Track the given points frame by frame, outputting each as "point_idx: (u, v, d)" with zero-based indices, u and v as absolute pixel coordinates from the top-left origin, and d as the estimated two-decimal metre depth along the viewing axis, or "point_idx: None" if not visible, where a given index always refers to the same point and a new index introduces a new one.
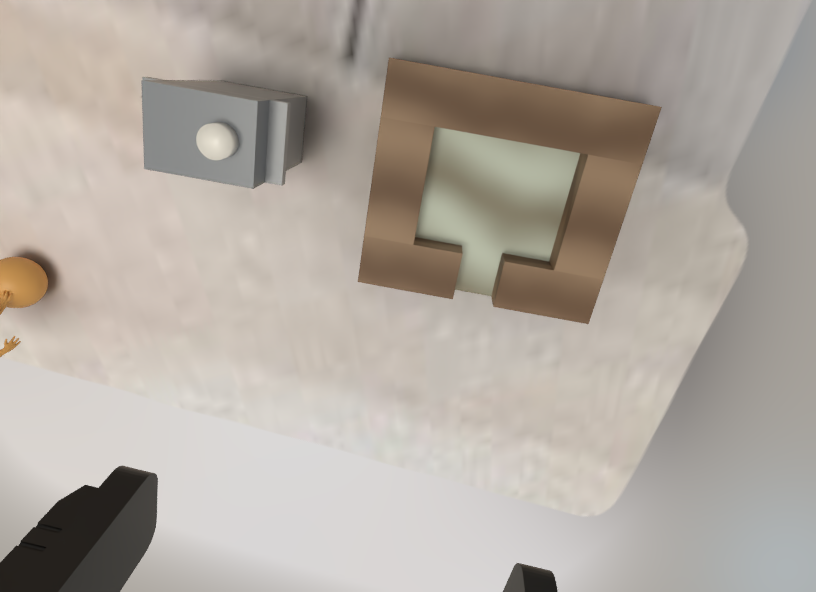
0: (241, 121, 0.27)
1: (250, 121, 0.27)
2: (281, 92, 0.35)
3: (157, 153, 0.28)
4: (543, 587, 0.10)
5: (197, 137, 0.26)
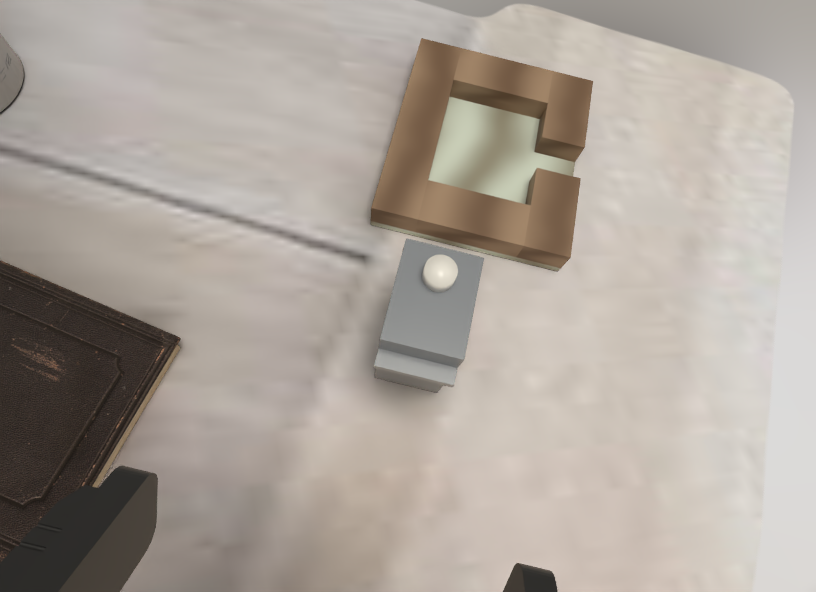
0: (422, 255, 0.29)
1: (422, 248, 0.29)
2: None
3: (449, 342, 0.27)
4: (543, 587, 0.10)
5: (436, 283, 0.27)
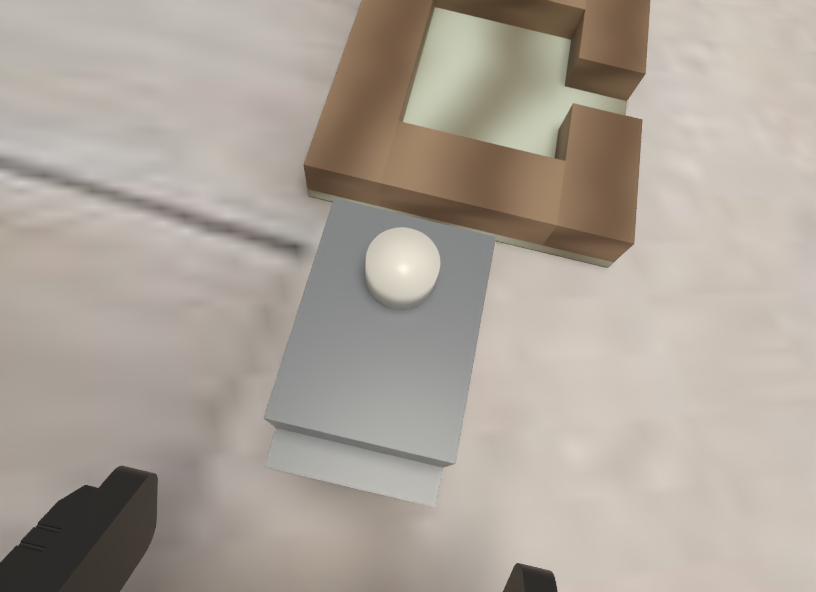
0: (367, 232, 0.14)
1: (368, 217, 0.14)
2: None
3: (421, 421, 0.12)
4: (543, 587, 0.10)
5: (391, 291, 0.12)
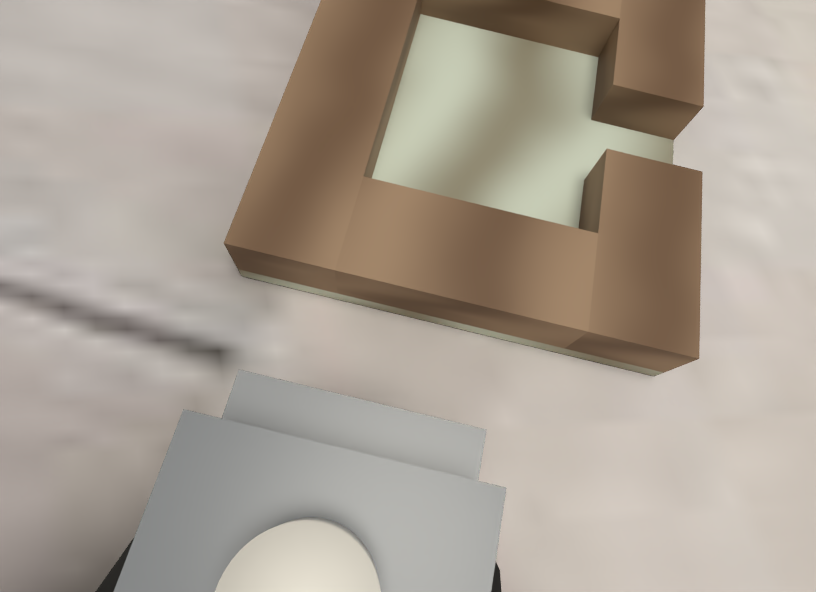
0: (244, 489, 0.07)
1: (250, 451, 0.07)
2: None
3: None
4: None
5: None
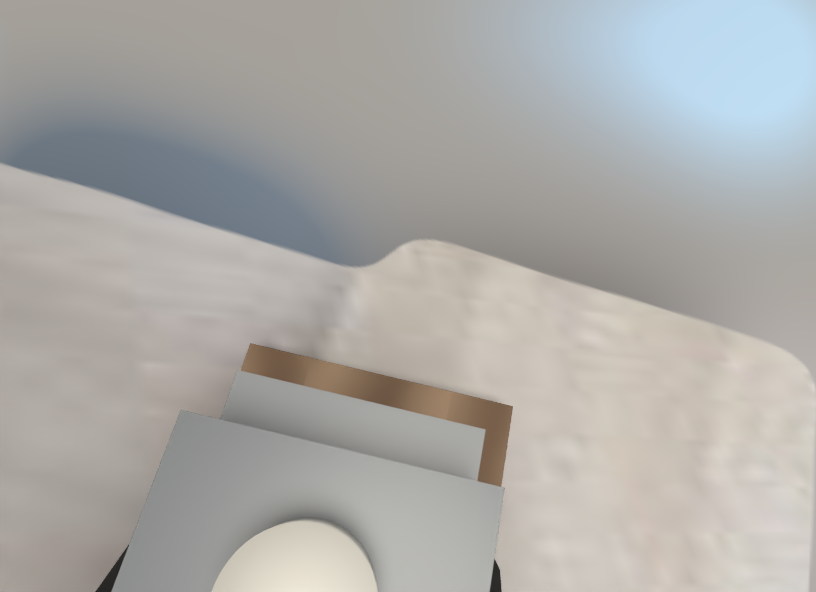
0: (242, 489, 0.07)
1: (248, 452, 0.07)
2: None
3: None
4: None
5: None
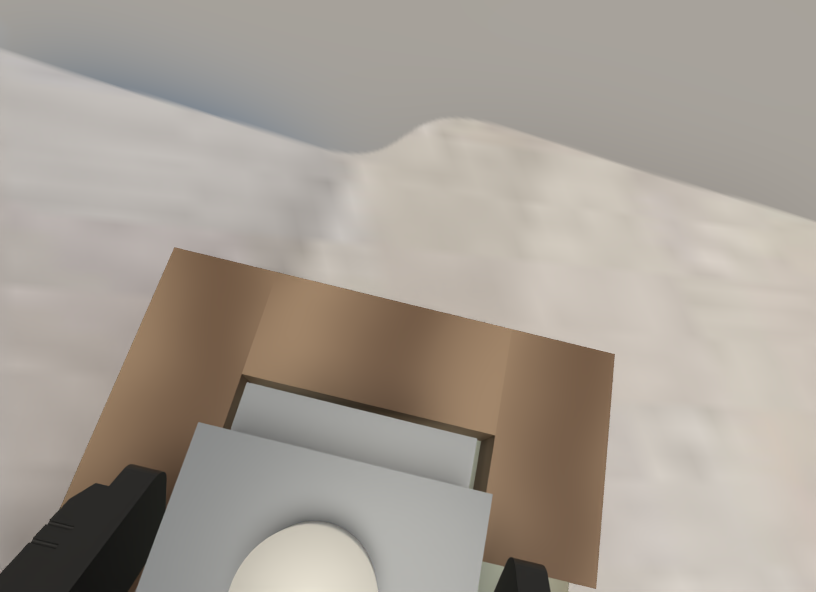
0: (254, 495, 0.07)
1: (259, 460, 0.08)
2: None
3: None
4: (535, 580, 0.10)
5: None
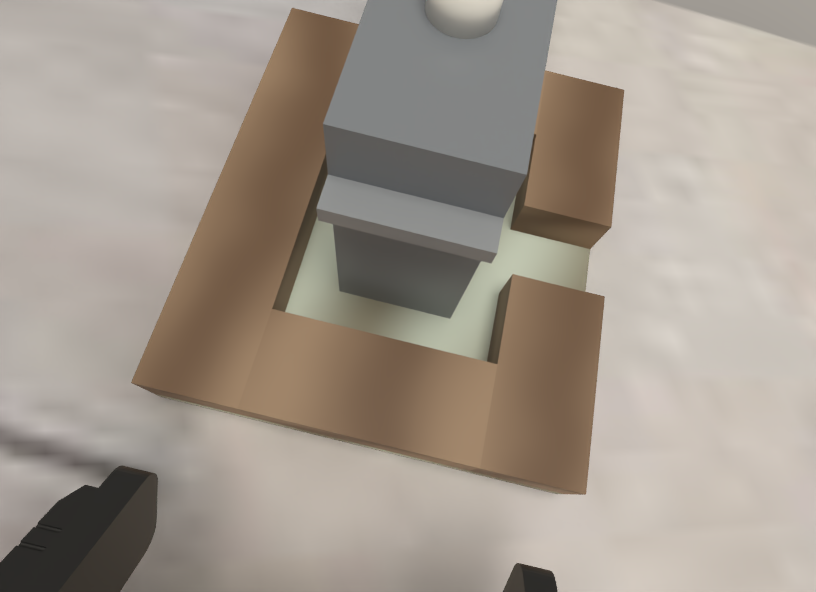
0: None
1: None
2: None
3: (489, 136, 0.11)
4: (543, 587, 0.10)
5: None
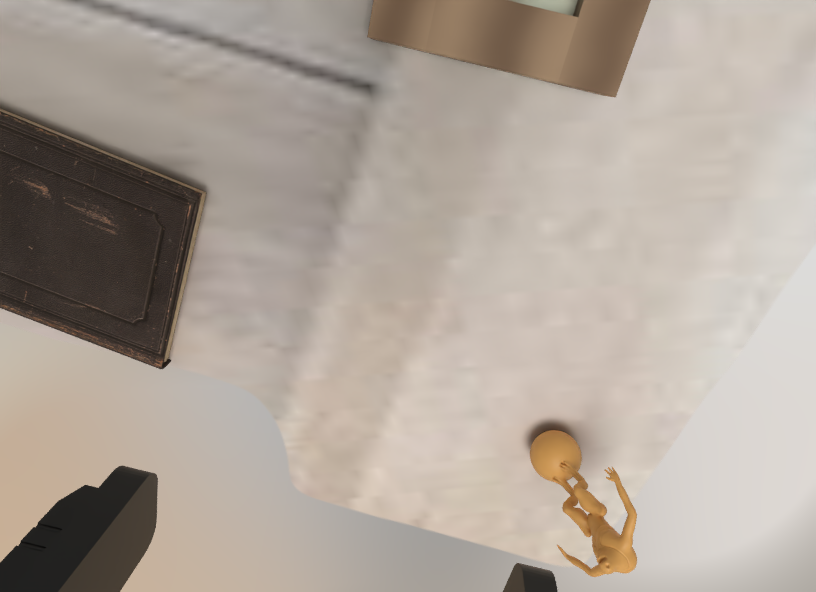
0: None
1: None
2: None
3: None
4: (543, 587, 0.10)
5: None
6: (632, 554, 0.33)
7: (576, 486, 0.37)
